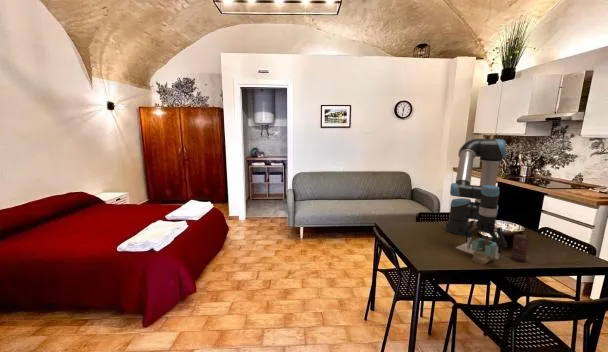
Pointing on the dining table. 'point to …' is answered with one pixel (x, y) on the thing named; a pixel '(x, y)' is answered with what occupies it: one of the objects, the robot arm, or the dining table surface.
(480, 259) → the hook stand
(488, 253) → the c link
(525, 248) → the can
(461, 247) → the felt mat
